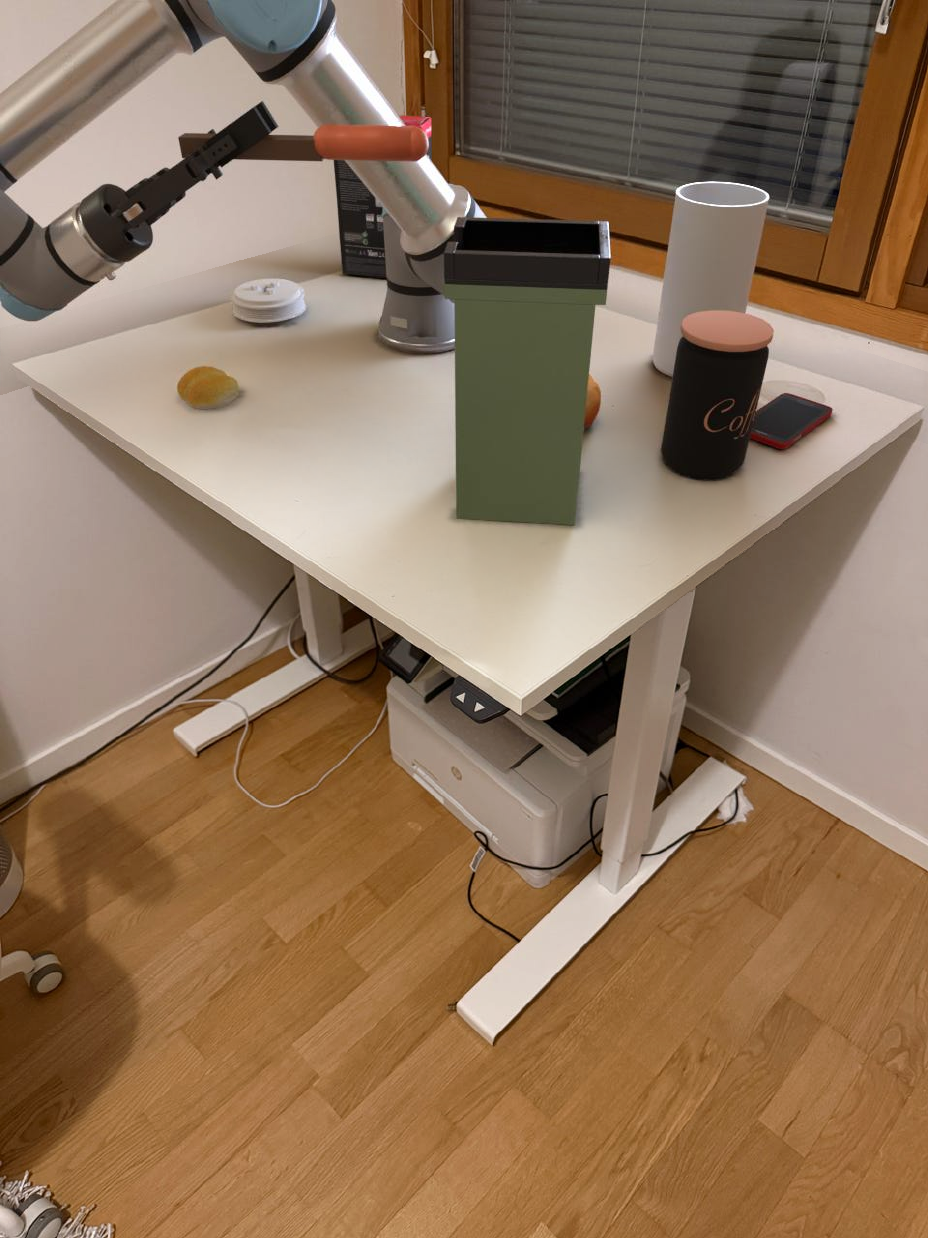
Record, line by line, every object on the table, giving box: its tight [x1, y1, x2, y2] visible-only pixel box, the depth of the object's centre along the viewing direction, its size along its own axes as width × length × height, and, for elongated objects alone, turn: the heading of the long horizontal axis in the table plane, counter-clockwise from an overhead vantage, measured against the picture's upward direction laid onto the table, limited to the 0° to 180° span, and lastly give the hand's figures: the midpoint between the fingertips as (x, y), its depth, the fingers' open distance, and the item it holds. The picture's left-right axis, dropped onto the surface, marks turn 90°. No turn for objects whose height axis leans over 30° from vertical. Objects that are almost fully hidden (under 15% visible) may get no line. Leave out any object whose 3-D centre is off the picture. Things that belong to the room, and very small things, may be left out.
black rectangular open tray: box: [444, 217, 612, 291], centre depth 90 cm, size 16×12×3 cm
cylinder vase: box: [652, 181, 770, 378], centre depth 129 cm, size 12×12×25 cm
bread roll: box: [176, 365, 240, 410], centre depth 128 cm, size 8×9×4 cm
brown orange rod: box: [177, 124, 429, 162], centre depth 91 cm, size 26×3×3 cm, turn 84°
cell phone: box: [750, 392, 833, 450], centre depth 122 cm, size 8×15×1 cm, turn 137°
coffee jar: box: [660, 310, 775, 481], centre depth 109 cm, size 11×11×18 cm
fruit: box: [584, 373, 602, 429], centre depth 121 cm, size 8×8×8 cm
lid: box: [229, 278, 307, 324], centre depth 152 cm, size 13×13×5 cm
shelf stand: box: [444, 284, 608, 526], centre depth 99 cm, size 16×12×28 cm
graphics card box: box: [333, 114, 433, 279], centre depth 161 cm, size 17×7×27 cm, turn 77°
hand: (265, 117), depth 90 cm, fingers closed on brown orange rod, 2 cm apart
